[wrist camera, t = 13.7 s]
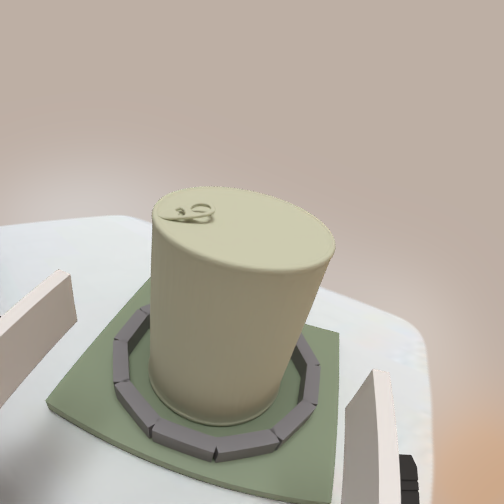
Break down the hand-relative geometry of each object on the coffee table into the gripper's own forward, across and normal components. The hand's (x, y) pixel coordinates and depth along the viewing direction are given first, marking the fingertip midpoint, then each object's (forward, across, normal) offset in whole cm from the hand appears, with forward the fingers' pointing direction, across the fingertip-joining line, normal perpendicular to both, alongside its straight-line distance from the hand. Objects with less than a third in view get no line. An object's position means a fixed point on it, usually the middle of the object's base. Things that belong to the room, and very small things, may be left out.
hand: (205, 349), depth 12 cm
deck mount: (+6, 0, -9) cm, 11 cm away
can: (+6, 0, -8) cm, 10 cm away
